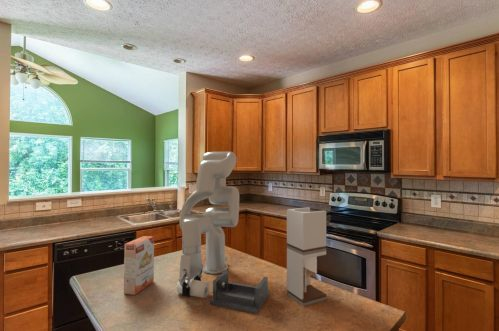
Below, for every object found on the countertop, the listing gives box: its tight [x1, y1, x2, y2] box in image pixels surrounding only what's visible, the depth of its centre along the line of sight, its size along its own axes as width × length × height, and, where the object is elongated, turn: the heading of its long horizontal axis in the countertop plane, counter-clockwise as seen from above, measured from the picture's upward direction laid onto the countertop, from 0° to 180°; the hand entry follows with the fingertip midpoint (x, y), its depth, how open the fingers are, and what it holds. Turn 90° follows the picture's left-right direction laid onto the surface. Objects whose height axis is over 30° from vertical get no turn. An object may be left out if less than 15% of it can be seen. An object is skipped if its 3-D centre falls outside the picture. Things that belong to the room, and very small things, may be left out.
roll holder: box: [209, 270, 271, 315], centre depth 108 cm, size 16×19×8 cm
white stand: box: [286, 206, 327, 307], centre depth 110 cm, size 11×11×35 cm
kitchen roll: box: [175, 278, 210, 299], centre depth 112 cm, size 6×12×6 cm, turn 69°
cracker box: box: [123, 235, 155, 296], centre depth 119 cm, size 14×6×21 cm, turn 168°
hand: (191, 291), depth 112 cm, fingers open, 7 cm apart
